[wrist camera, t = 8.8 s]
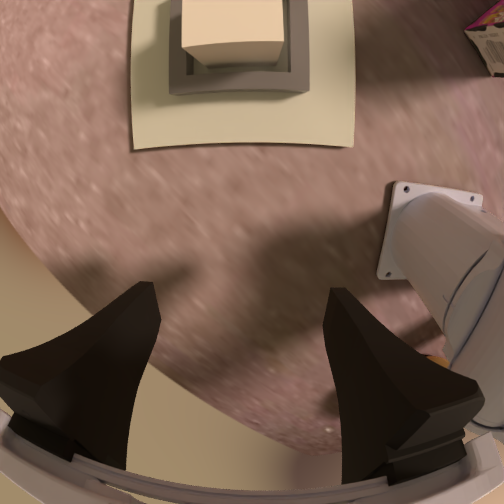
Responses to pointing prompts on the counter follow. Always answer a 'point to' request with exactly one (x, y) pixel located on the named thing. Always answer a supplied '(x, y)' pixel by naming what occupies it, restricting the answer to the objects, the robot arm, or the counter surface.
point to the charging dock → (245, 82)
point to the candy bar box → (489, 38)
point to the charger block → (233, 32)
